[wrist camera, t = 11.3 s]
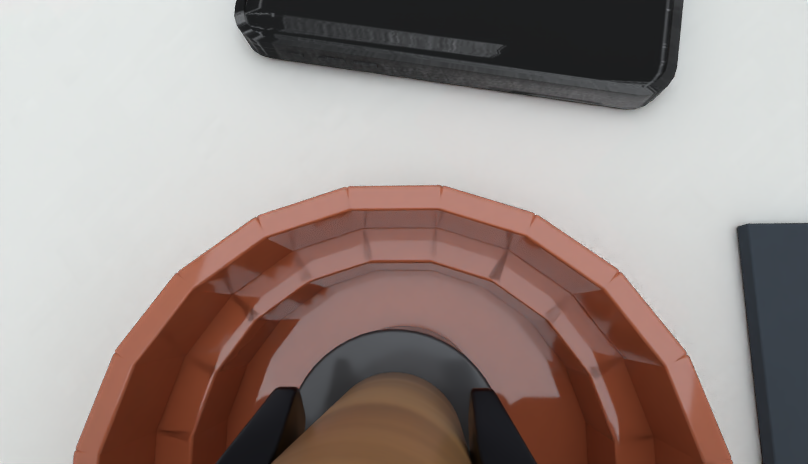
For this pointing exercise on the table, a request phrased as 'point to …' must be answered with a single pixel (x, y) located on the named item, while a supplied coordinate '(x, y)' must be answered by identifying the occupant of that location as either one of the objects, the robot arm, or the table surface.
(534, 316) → the bowl
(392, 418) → the wooden peg on base
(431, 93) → the table surface
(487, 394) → the robot arm
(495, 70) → the phone
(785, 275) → the mat
